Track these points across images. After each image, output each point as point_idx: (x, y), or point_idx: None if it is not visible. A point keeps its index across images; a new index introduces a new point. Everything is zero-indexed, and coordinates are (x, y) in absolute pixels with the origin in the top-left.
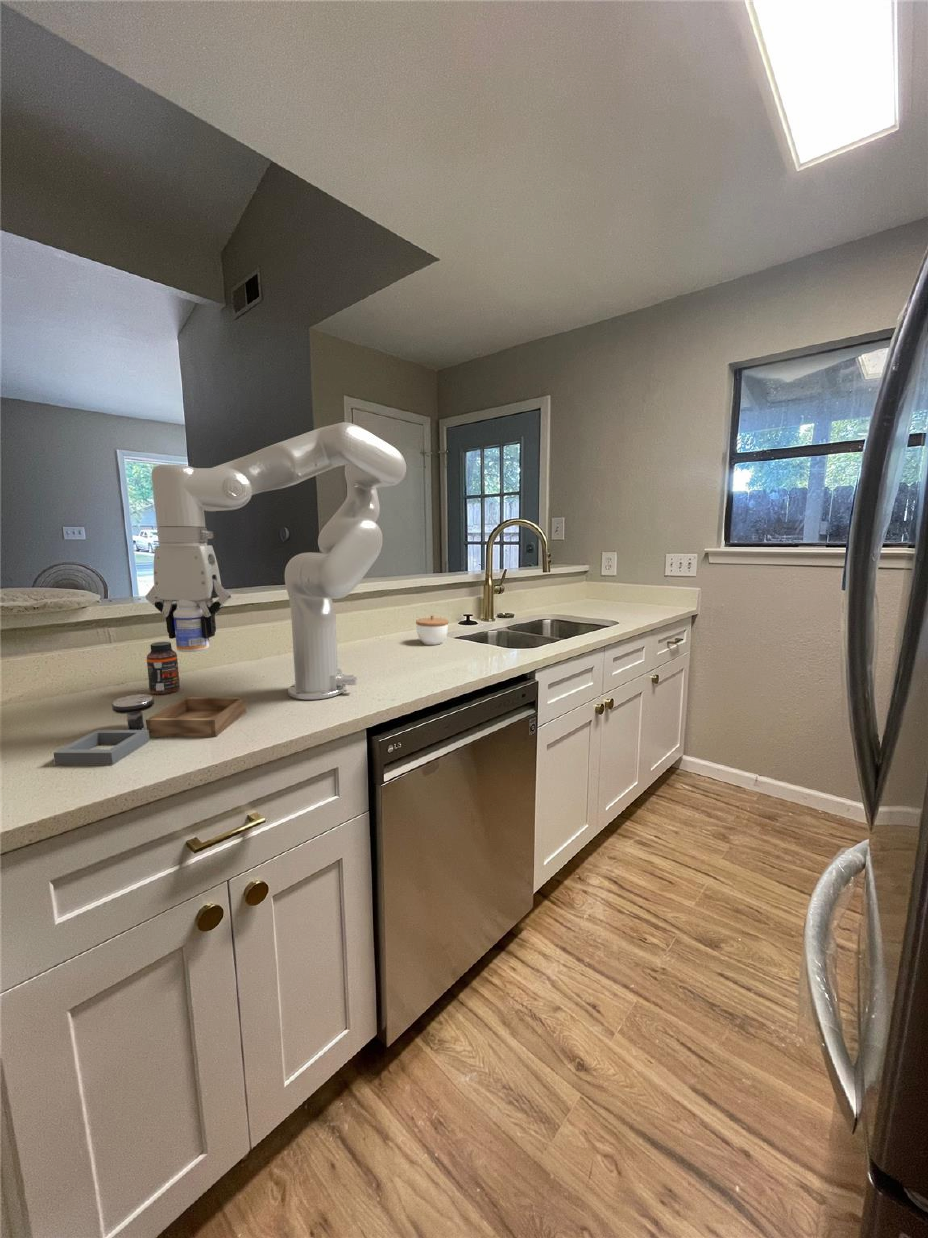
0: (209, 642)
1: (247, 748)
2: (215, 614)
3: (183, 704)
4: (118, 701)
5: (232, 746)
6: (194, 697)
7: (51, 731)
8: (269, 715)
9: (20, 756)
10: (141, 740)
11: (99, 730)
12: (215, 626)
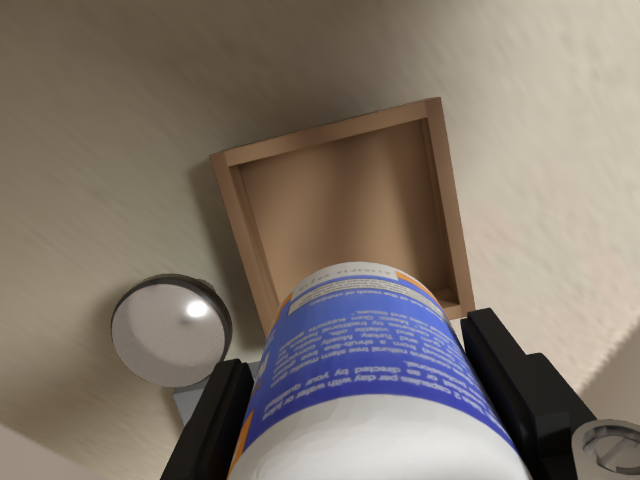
0: (439, 305)
1: (591, 334)
2: (618, 430)
3: (237, 186)
4: (141, 362)
5: (545, 332)
6: (244, 147)
7: (6, 357)
8: (527, 104)
9: (107, 466)
10: None
11: (182, 395)
12: (558, 375)
